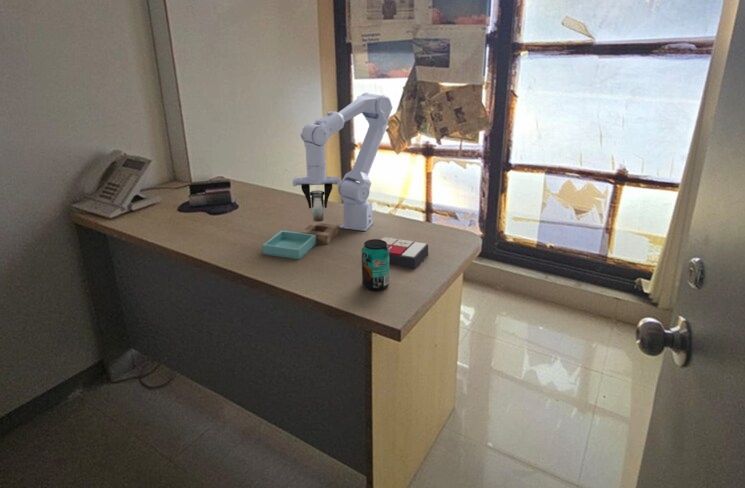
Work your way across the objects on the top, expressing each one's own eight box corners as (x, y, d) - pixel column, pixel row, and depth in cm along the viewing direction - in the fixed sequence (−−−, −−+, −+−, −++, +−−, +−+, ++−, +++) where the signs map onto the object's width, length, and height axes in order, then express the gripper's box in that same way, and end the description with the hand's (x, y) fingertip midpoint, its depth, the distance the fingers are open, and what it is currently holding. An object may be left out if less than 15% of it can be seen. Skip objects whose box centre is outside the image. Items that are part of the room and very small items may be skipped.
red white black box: (382, 235, 149) (428, 241, 143) (383, 248, 151) (428, 255, 144) (366, 248, 140) (414, 256, 134) (367, 262, 142) (414, 270, 135)
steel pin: (327, 218, 155) (326, 191, 151) (321, 222, 151) (320, 195, 148) (314, 216, 156) (313, 189, 153) (309, 221, 152) (307, 193, 149)
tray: (316, 243, 152) (316, 234, 151) (299, 259, 141) (298, 250, 140) (282, 238, 155) (281, 230, 154) (263, 254, 145) (262, 244, 144)
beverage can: (361, 279, 130) (361, 238, 125) (387, 278, 130) (388, 237, 125) (362, 292, 124) (362, 249, 119) (390, 291, 124) (390, 249, 119)
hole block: (338, 233, 159) (338, 225, 158) (327, 244, 151) (327, 235, 150) (313, 230, 162) (312, 222, 160) (301, 240, 154) (300, 232, 153)
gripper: (291, 168, 142) (294, 212, 148) (340, 167, 144) (341, 210, 149) (292, 162, 149) (294, 204, 154) (339, 161, 150) (340, 203, 156)
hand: (317, 207), depth 152 cm, fingers closed on steel pin, 4 cm apart
